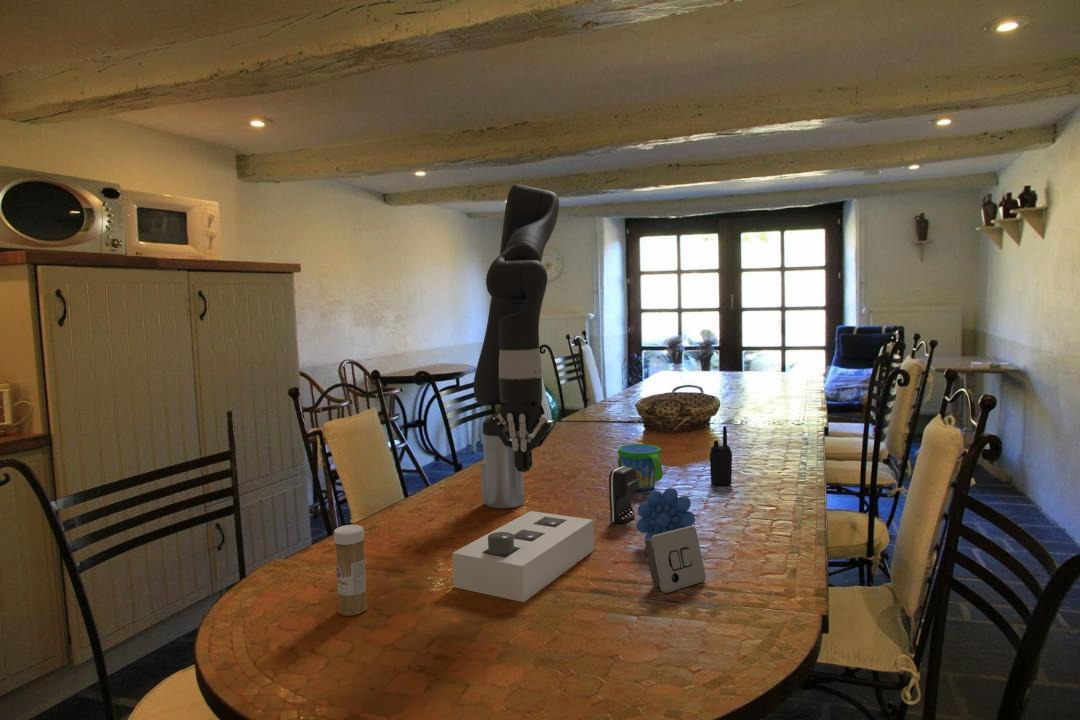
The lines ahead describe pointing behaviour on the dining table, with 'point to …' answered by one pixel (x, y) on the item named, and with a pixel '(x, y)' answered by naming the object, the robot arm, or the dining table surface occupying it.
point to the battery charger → (622, 493)
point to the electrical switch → (675, 559)
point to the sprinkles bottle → (350, 569)
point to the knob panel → (524, 557)
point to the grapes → (664, 513)
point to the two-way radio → (721, 462)
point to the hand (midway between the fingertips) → (523, 470)
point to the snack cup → (642, 463)
